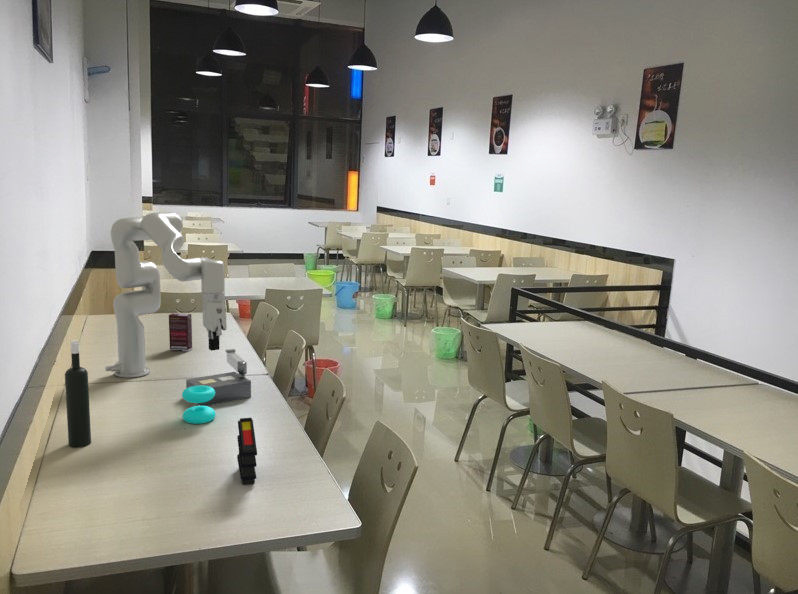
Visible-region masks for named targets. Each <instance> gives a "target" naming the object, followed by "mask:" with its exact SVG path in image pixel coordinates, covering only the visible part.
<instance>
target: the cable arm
mask: <svg viewBox="0 0 798 594" xmlns="http://www.w3.org/2000/svg"><path fill="white" fill-rule="evenodd" d="M225 352H226V363H227V364H229V365H230V367H232V368H233V370H235V372H236V373H238V374H241V375H244V374H245V375H246V374H248V373H247V372H248V371H247V369H248V368H247V367H248V366H247V365H248V363H247V361H245V360H244V359H243V358H242V357H241V356H240V355H238V354H237V353H236V350H235V348H230V349H225Z"/></svg>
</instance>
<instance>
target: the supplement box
mask: <svg viewBox="0 0 798 594" xmlns="http://www.w3.org/2000/svg"><path fill="white" fill-rule="evenodd" d="M192 323H193V320H192V313H178V312H177V313H176V312H173V313H172V312H171V313H170V314H168V332H169V334H168V335H169V337H168V339H169V351H170V350H182V351H181V352H189V350H190V351H191V349H192V350H193V330H192V329H193V326H192V325H193V324H192Z"/></svg>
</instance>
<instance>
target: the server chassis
mask: <svg viewBox="0 0 798 594" xmlns="http://www.w3.org/2000/svg"><path fill="white" fill-rule="evenodd" d="M185 380H186V381H185V383H186V384H185V389H186V388H188V387H192V386H200V385H203V386H209V387H212V388H213V389H214V390H215V396H214V397H213V398H212V399H211V400H209V401H207V402H203V403H196V405H197V406H199V405H200V406H207V405H209V406H213V405H212V404H214V405H218V404H217V403H219V404H224V403H227V402H228V403H229V402H233V401H234V400H235V401H239V400H238V399H240V400H244V399H243V398H245V399H249V398H252V380H250V379H249V378H247V377H246V374H244V375H241V374H239V372H237V371H231V372H230V371H229V372H225V373H219V374H212V375H211V374H210V375H206V376H200V377H194V378H193V377H192V378H189V379H185ZM223 402H224V403H223Z"/></svg>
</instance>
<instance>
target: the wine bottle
mask: <svg viewBox="0 0 798 594" xmlns="http://www.w3.org/2000/svg"><path fill="white" fill-rule="evenodd" d="M69 341H70V342H69V343H70V344H69V345H70V354H71V355H70V356H71V367H70V368H68V369H67V370H66V371H65V373H64V383H65V385H64V386H65V402H66V403H65V404H66V419H67V420H66V423H67V439H68V440H67V441H68V447H70V448H74V449H75V448H83V447H87V446H89V445H90V444H91V443H92V433H91V430H92V429H91V413H90V412H91V411H90V392H89V373H88V371H87V369H86V368H84V367H81V363H80V362H81V361H80V359H81V358H80V341H79V340H76V339H74V340H69Z"/></svg>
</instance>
